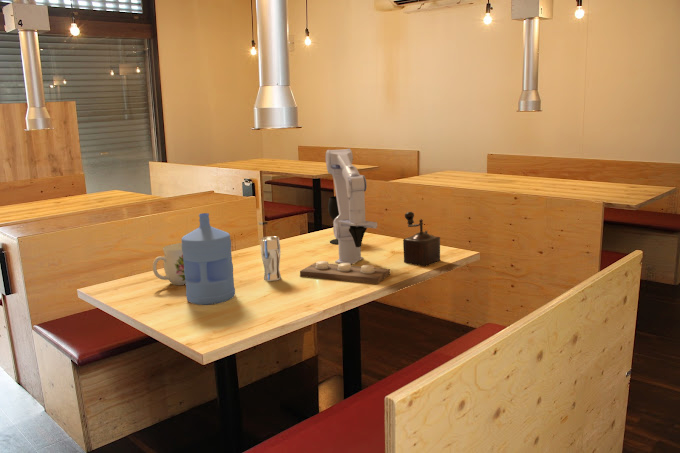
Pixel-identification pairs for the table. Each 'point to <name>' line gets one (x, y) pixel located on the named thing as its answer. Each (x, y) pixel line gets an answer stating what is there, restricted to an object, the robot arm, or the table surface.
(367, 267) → the knob
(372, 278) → the wooden board with recesses
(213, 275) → the water jug
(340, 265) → the knob
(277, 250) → the beer glass
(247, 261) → the table surface
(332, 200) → the wine glass
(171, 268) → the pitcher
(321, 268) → the knob
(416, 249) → the manual coffee grinder
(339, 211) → the robot arm
